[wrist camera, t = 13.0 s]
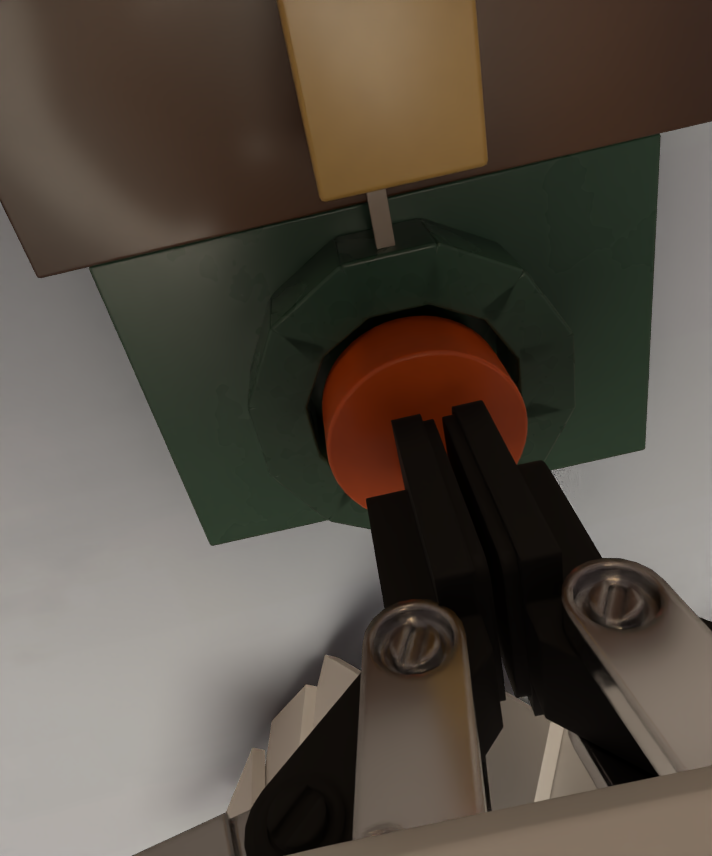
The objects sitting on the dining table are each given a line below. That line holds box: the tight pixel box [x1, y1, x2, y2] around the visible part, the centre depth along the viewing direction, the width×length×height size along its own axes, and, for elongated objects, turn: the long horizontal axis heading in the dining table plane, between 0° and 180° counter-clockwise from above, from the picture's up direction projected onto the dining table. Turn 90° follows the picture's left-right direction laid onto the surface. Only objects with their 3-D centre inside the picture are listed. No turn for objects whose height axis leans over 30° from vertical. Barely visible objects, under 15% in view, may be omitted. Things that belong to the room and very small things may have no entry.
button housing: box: [89, 134, 661, 546], centre depth 15 cm, size 12×8×4 cm, turn 101°
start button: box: [322, 316, 528, 509], centre depth 14 cm, size 4×4×2 cm
